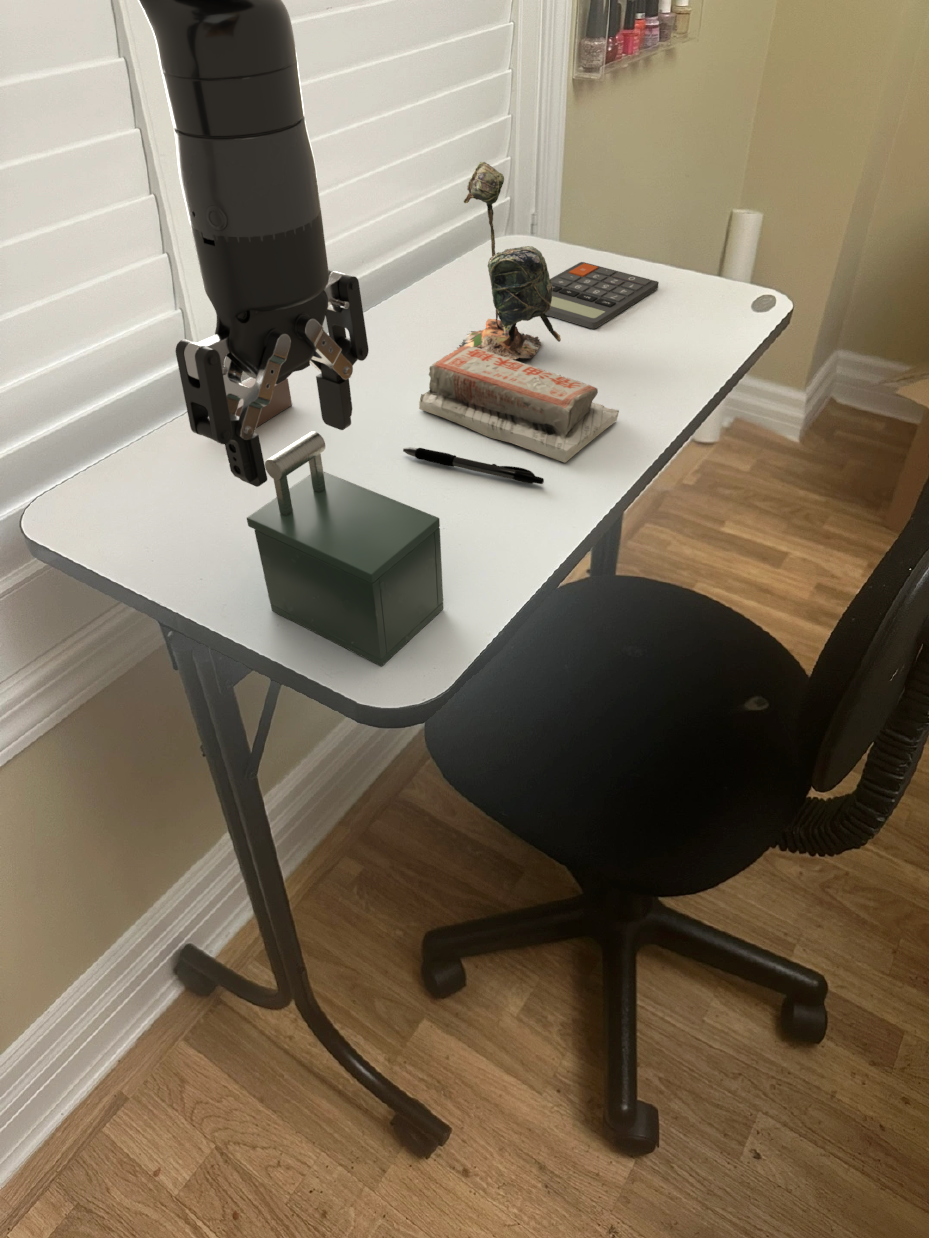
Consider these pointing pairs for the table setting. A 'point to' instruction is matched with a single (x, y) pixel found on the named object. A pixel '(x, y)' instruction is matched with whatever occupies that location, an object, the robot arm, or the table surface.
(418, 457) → the pen
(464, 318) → the table surface
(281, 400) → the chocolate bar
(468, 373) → the packaged product
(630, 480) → the table surface
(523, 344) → the plant with pod
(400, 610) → the green storage bin
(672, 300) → the table surface
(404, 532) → the bin lid
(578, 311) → the calculator
